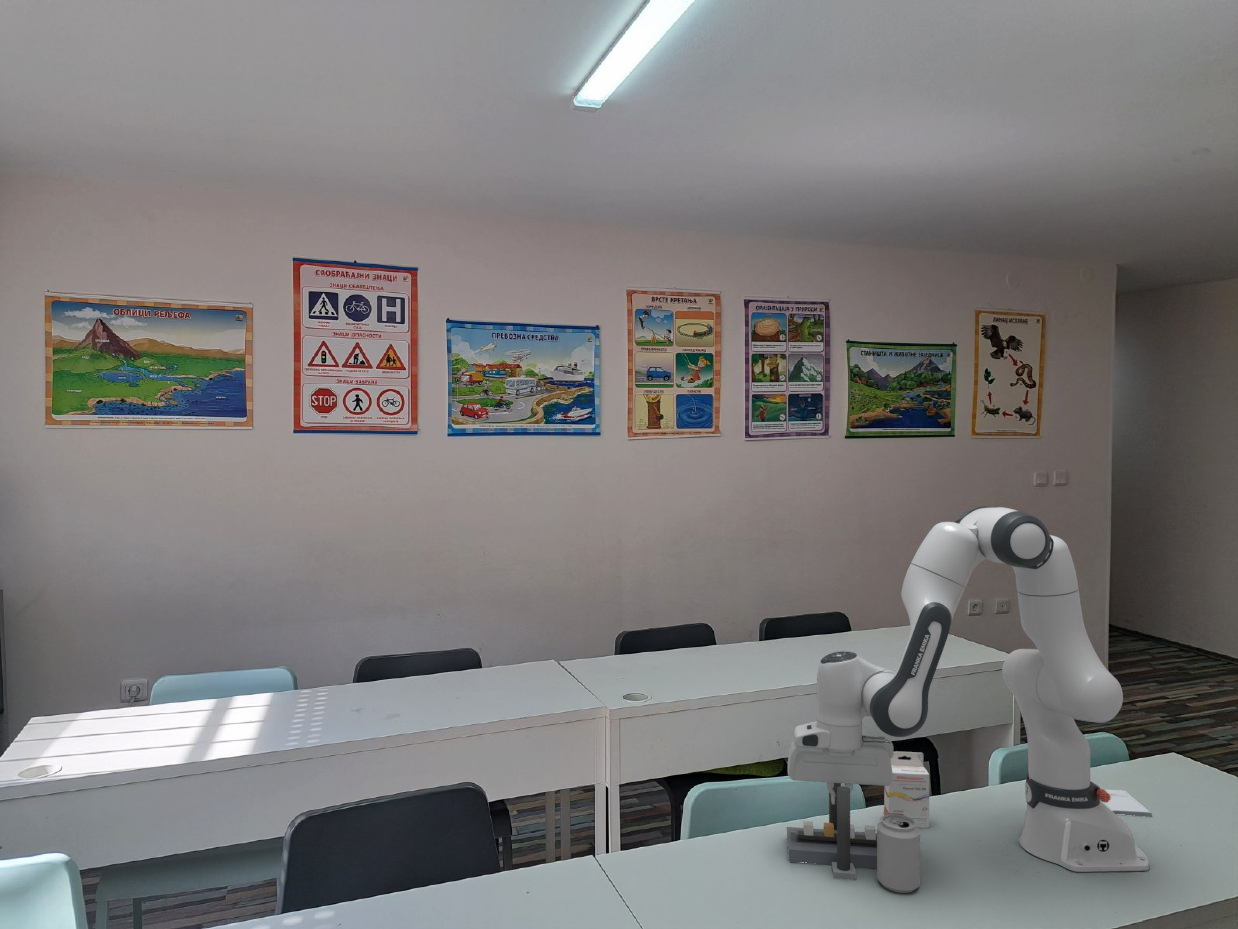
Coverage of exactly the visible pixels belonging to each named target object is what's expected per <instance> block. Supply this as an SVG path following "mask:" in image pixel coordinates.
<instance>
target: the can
mask: <svg viewBox="0 0 1238 929" xmlns="http://www.w3.org/2000/svg"><path fill="white" fill-rule="evenodd" d="M876 833H877V869H876V878H877V880H878V881H879V882H880V883H881V885H882V887H884V888H885V889H887V890H889V891H892V892H894V893H900V894H907V893H911V892H913V891H914V890H916V889H918V887H920V882H921V881H920V880H921V869H920V868H921V850H920V848H921V842H920V841H921V831H920V829H919V827H916V822H915V821H914V820H913V819H911V818H909V817H907V816H904V815H899V814H888V815H884V814H883V815H882V816H881V818H880V822H878V823H877V827H876Z"/></svg>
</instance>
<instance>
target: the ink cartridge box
mask: <svg viewBox="0 0 1238 929" xmlns="http://www.w3.org/2000/svg"><path fill="white" fill-rule="evenodd" d="M902 757H906V758H910V759H902ZM900 758H901V759H900ZM890 760H891V766H892V775H893V781H892V783H891V784H890V785H889V786H884V789H883V790H884V793H883V794H884V795H883V796H884V799H883V800H884V801H883V802H884V804H883V807H884V808H883V816H884V815H888V814H899V815H904V816H907V817H909V818H911V819H913V820H914V821H915V822H916V827H917V828H922V829H923V828H924V829H929V828H930V773H929V772H928V770H927V769H926V767H925V766H924V753H923V752H915V751H914V752H912V751H893V757H892V758H891V759H890Z"/></svg>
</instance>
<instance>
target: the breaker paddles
mask: <svg viewBox="0 0 1238 929" xmlns="http://www.w3.org/2000/svg"><path fill="white" fill-rule="evenodd" d="M802 822H803V827H802V828H803V831H800V830H798V839H808V840H822V841H836V842H837V833H834V825H833V823H829V822H823V829H824V832H814V831H813V829H814V823H813V821H806V820H803V821H802ZM855 832H856V829H855V825H854V824H852V823H850V843H864V844H877V836H876V833H877V829H876V827H875V825H866V824H865V825H864V832H865V835H857V834H855Z"/></svg>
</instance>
